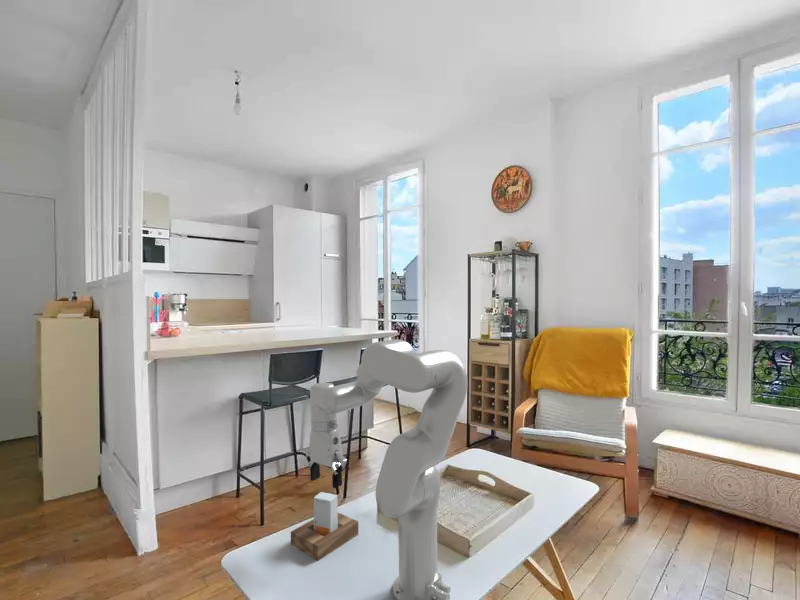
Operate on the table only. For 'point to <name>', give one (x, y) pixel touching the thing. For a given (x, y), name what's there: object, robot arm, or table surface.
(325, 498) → the skincare box
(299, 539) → the socket block
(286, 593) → the table surface
